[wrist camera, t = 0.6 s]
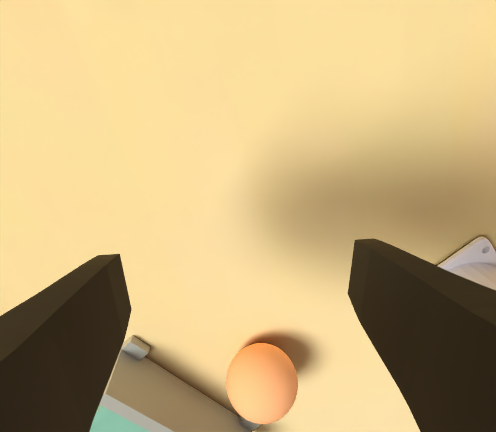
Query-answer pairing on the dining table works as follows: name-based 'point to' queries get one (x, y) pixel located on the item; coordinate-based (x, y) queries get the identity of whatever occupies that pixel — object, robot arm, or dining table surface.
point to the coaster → (113, 422)
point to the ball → (261, 383)
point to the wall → (163, 397)
